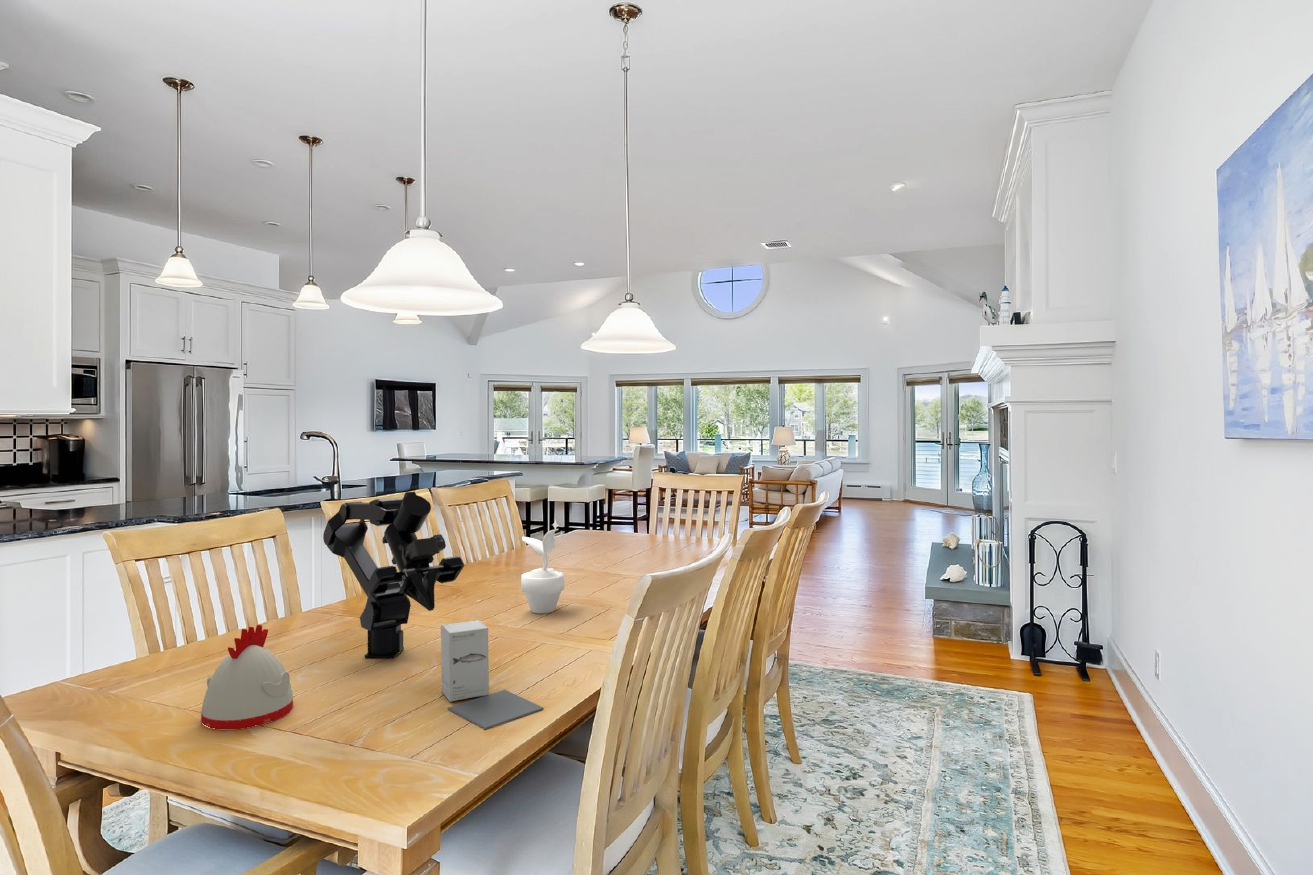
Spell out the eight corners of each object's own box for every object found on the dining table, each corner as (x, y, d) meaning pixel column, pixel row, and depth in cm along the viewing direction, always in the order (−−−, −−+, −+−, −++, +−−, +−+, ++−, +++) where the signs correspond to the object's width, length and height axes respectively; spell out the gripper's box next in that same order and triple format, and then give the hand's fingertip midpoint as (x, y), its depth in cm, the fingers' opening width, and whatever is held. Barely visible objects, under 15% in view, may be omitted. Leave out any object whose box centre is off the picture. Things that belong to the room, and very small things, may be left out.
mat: (447, 709, 127) (447, 707, 127) (504, 691, 136) (504, 689, 136) (484, 729, 119) (484, 727, 119) (543, 709, 128) (543, 707, 128)
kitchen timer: (310, 702, 131) (310, 619, 130) (251, 734, 117) (251, 642, 117) (245, 695, 134) (244, 614, 134) (181, 725, 120) (180, 636, 120)
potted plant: (573, 609, 196) (573, 517, 195) (544, 619, 186) (544, 522, 185) (538, 602, 202) (538, 513, 202) (508, 611, 193) (508, 518, 192)
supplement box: (449, 703, 130) (447, 632, 130) (441, 690, 136) (439, 623, 136) (490, 695, 133) (488, 627, 133) (480, 684, 140) (479, 618, 140)
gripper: (373, 527, 140) (400, 593, 132) (459, 518, 153) (488, 577, 146) (356, 562, 145) (381, 627, 138) (440, 550, 159) (467, 609, 151)
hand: (432, 609), depth 143 cm, fingers closed
